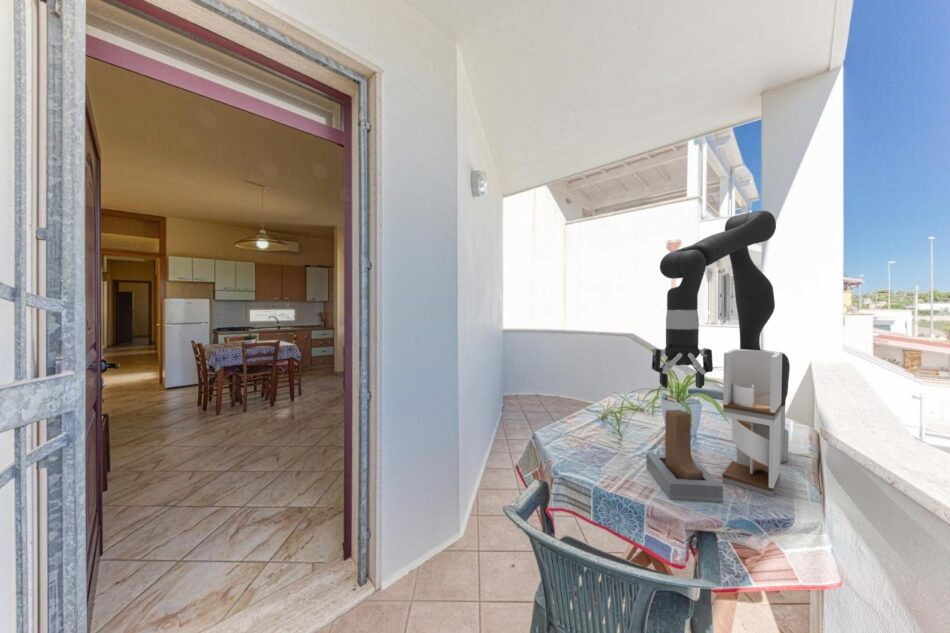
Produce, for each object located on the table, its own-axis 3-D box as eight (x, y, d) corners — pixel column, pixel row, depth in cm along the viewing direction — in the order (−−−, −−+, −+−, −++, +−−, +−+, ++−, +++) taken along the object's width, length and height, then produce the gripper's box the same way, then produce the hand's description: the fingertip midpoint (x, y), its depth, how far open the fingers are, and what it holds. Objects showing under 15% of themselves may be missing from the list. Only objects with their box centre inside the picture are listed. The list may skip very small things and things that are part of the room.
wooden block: (703, 489, 91) (704, 419, 91) (687, 490, 91) (688, 420, 90) (679, 472, 100) (679, 409, 100) (664, 473, 100) (664, 409, 99)
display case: (732, 467, 105) (734, 348, 103) (779, 480, 97) (782, 352, 96) (722, 481, 97) (723, 353, 96) (772, 496, 89) (775, 357, 88)
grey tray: (689, 468, 105) (690, 455, 104) (722, 502, 87) (722, 486, 87) (646, 466, 106) (646, 453, 106) (670, 499, 89) (670, 483, 89)
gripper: (703, 325, 98) (703, 384, 98) (648, 326, 100) (648, 383, 100) (718, 327, 90) (717, 391, 91) (658, 328, 92) (658, 390, 93)
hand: (681, 387), depth 96 cm, fingers open, 8 cm apart
